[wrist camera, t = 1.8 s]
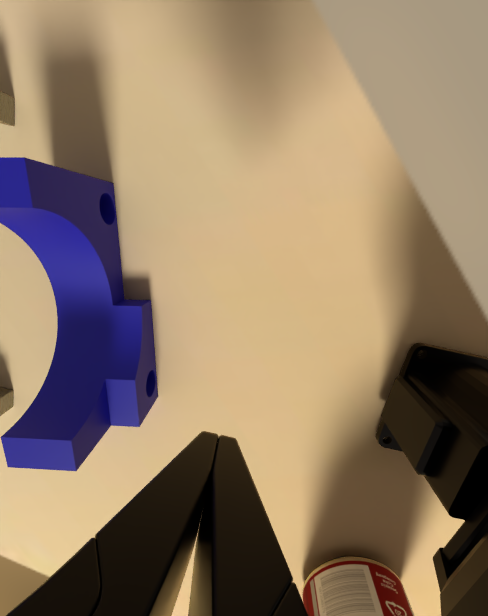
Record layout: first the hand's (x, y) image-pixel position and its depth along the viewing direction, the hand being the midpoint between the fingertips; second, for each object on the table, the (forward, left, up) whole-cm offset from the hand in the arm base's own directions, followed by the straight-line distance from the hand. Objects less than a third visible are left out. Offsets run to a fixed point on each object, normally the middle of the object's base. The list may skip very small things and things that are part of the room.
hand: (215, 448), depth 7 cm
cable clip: (+7, 0, -10) cm, 12 cm away
